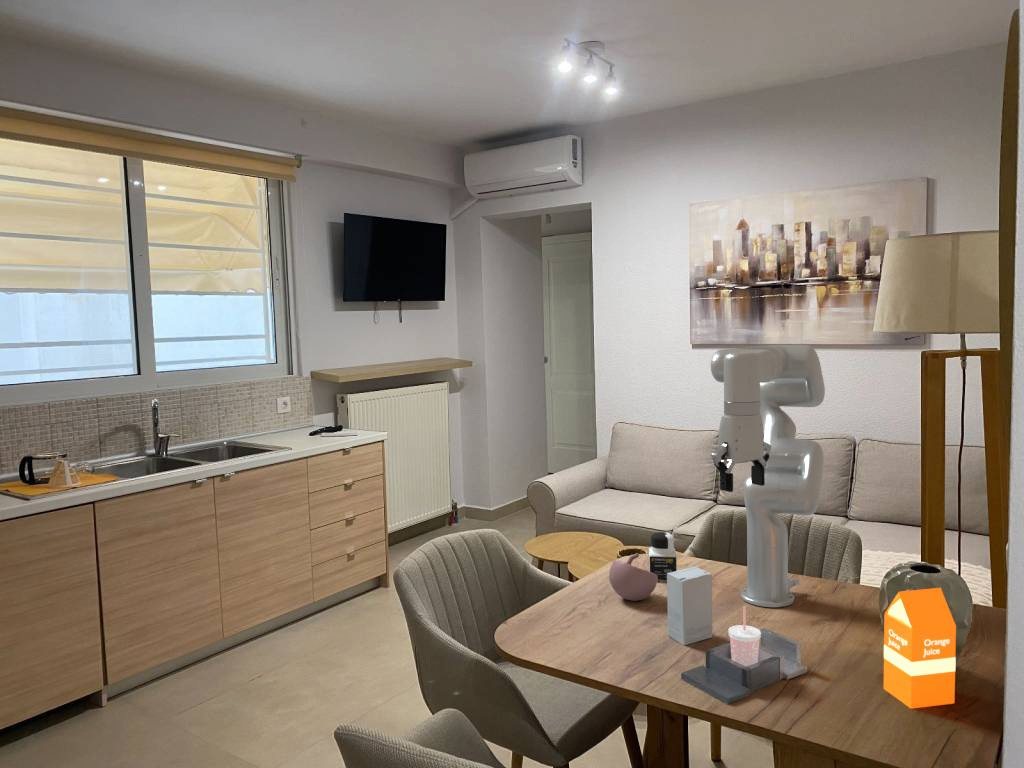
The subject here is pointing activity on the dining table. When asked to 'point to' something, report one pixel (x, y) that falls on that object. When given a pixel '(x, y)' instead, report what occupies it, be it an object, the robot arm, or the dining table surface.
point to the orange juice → (920, 649)
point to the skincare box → (689, 605)
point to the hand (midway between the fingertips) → (742, 487)
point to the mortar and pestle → (631, 580)
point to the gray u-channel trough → (781, 653)
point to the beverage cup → (744, 642)
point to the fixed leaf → (731, 675)
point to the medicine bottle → (662, 555)
